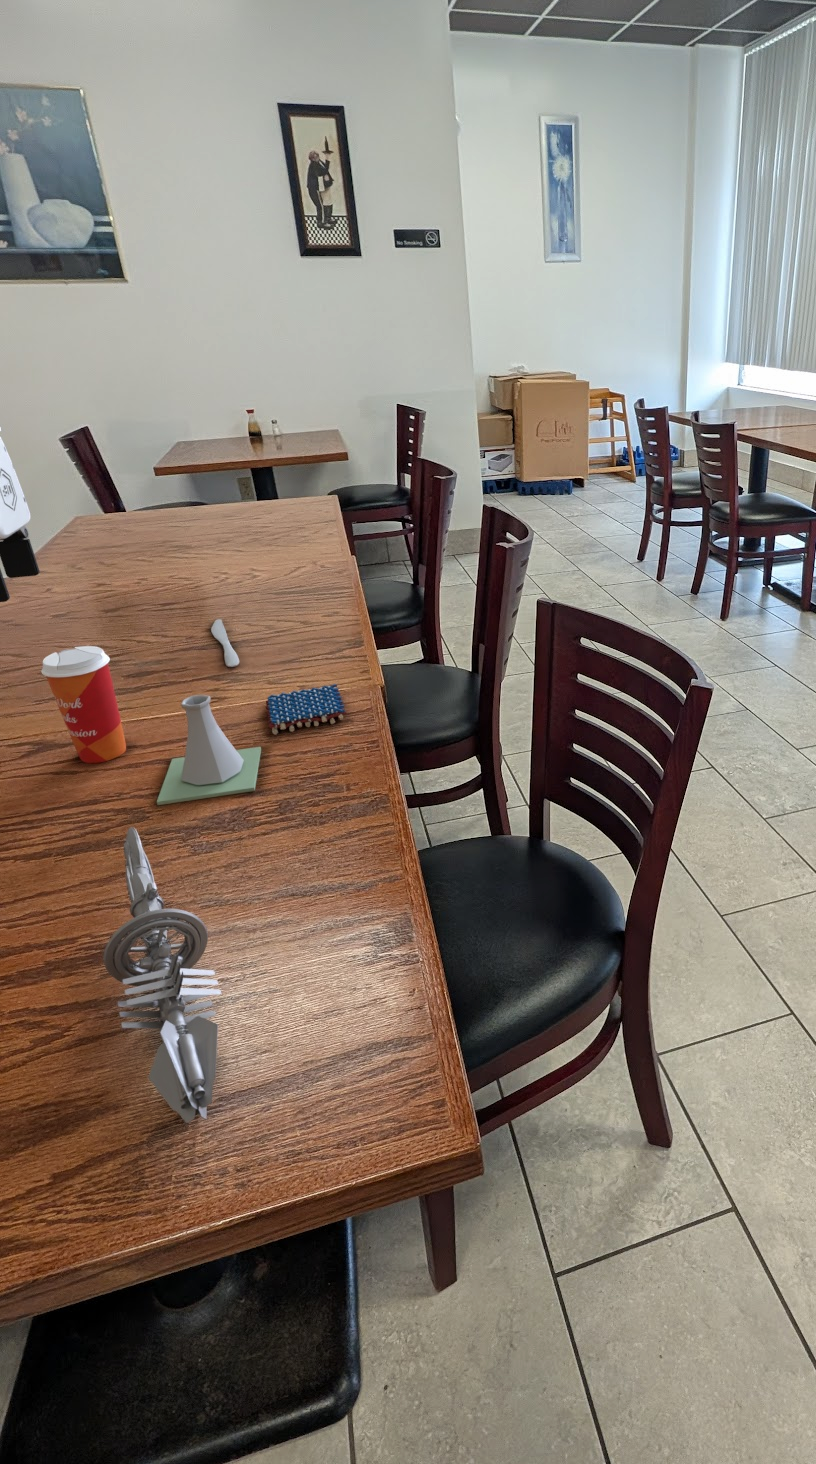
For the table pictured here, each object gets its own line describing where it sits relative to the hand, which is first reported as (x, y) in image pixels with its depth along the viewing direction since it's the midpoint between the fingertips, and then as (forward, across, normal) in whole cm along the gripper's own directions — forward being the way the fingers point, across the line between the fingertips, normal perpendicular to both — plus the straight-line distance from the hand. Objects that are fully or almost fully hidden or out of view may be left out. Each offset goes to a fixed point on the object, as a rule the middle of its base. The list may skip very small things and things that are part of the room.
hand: (9, 588), depth 87 cm
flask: (+26, +1, -15) cm, 30 cm away
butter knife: (+26, +51, -11) cm, 58 cm away
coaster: (+26, +1, -15) cm, 30 cm away
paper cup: (+26, +12, 0) cm, 29 cm away
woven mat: (+26, +16, -26) cm, 40 cm away
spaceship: (+26, -36, -16) cm, 47 cm away
